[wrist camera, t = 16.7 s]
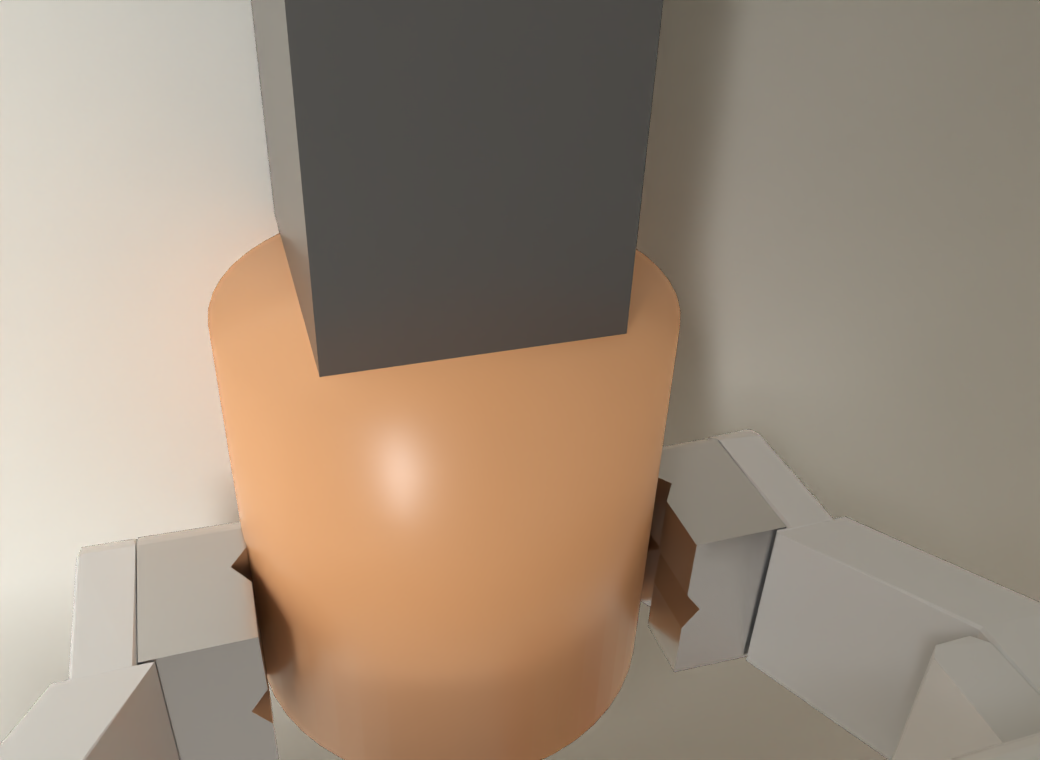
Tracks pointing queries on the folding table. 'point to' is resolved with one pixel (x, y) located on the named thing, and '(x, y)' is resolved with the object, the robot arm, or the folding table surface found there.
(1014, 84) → the folding table surface
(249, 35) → the folding table surface
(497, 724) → the plug
